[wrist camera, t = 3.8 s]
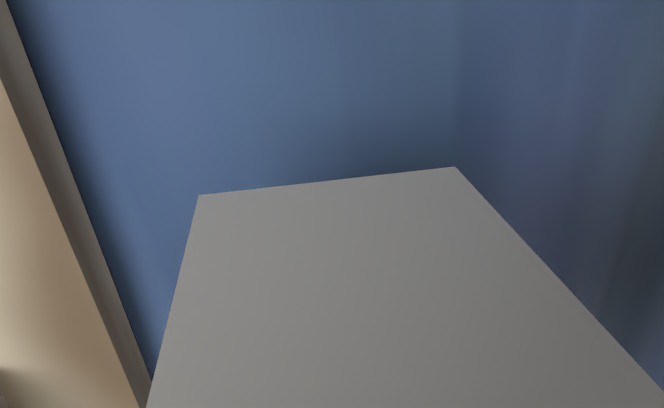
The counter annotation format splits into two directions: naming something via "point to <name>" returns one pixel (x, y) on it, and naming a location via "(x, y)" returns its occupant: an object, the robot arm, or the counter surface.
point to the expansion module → (379, 306)
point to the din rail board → (53, 266)
